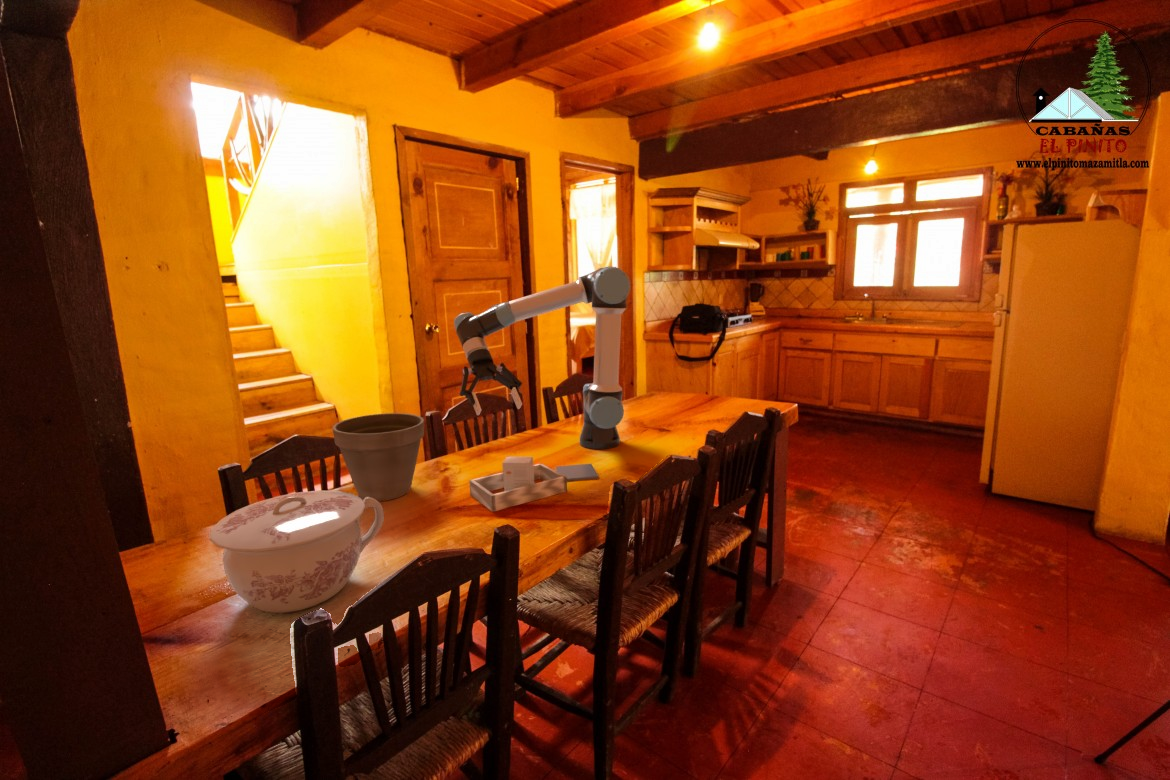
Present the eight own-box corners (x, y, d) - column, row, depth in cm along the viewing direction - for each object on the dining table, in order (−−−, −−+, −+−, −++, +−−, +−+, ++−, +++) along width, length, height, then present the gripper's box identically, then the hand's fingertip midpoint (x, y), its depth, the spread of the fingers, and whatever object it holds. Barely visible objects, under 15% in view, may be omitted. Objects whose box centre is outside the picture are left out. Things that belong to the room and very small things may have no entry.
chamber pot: (188, 636, 100) (168, 530, 96) (271, 560, 127) (259, 474, 123) (343, 633, 100) (330, 526, 96) (394, 557, 127) (385, 471, 123)
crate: (541, 476, 176) (540, 463, 175) (567, 491, 164) (566, 476, 163) (470, 494, 162) (469, 480, 162) (492, 511, 150) (491, 496, 149)
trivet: (591, 465, 185) (591, 463, 185) (598, 478, 173) (598, 476, 173) (555, 468, 183) (555, 466, 183) (560, 481, 171) (560, 479, 171)
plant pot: (429, 473, 181) (423, 408, 176) (429, 502, 158) (423, 428, 153) (346, 482, 174) (339, 415, 170) (334, 514, 151) (325, 437, 147)
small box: (534, 490, 165) (533, 456, 163) (531, 497, 160) (529, 462, 157) (508, 489, 166) (506, 456, 164) (503, 497, 160) (502, 462, 158)
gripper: (509, 358, 188) (532, 410, 179) (437, 365, 174) (458, 422, 165) (516, 344, 182) (540, 397, 173) (442, 350, 169) (464, 408, 160)
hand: (500, 409), depth 169 cm, fingers open, 13 cm apart
